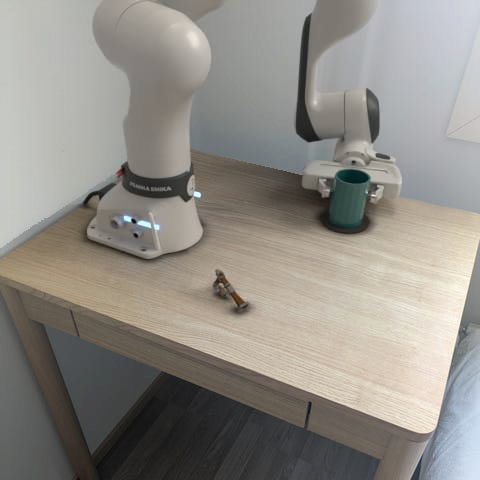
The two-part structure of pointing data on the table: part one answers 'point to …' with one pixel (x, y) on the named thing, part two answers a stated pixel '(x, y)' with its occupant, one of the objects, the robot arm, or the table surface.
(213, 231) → the table surface
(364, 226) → the coaster
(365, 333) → the table surface
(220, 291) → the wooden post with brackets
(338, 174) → the cup
